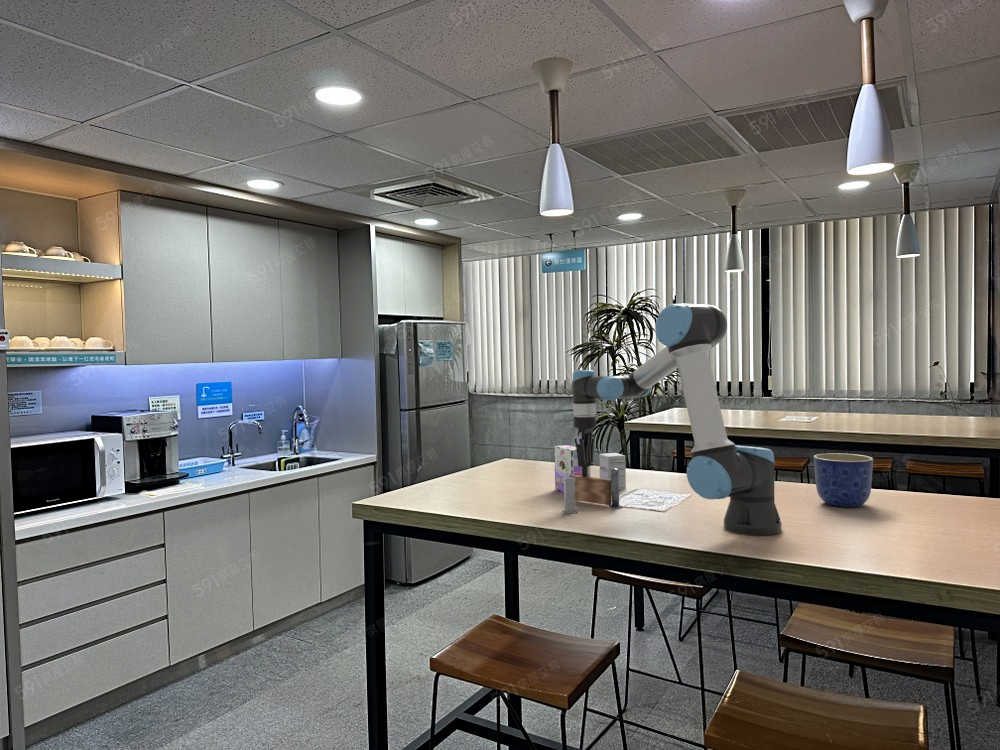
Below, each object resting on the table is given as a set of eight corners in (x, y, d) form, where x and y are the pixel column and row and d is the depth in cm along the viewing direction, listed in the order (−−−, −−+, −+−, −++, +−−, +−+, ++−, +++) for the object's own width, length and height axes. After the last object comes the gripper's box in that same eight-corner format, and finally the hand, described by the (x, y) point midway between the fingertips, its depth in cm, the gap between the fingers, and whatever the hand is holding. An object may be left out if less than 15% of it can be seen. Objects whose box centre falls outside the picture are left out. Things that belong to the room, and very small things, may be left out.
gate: (612, 504, 221) (611, 479, 221) (609, 505, 220) (609, 480, 220) (572, 498, 231) (572, 474, 231) (570, 499, 230) (569, 475, 230)
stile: (578, 513, 212) (577, 478, 212) (564, 513, 212) (564, 479, 211) (575, 510, 216) (574, 476, 215) (561, 511, 215) (561, 477, 215)
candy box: (586, 495, 239) (585, 448, 239) (571, 496, 237) (571, 449, 237) (568, 488, 252) (567, 444, 252) (554, 489, 250) (553, 445, 250)
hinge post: (622, 508, 218) (622, 469, 217) (611, 508, 217) (611, 469, 217) (619, 505, 221) (618, 467, 221) (608, 506, 221) (607, 467, 220)
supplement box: (599, 487, 253) (598, 453, 252) (617, 485, 255) (616, 452, 255) (608, 490, 246) (607, 456, 245) (626, 489, 248) (626, 455, 248)
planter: (859, 513, 204) (859, 463, 204) (804, 504, 218) (803, 457, 217) (882, 504, 215) (882, 456, 215) (828, 496, 228) (828, 451, 228)
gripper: (581, 413, 235) (583, 481, 236) (566, 417, 224) (568, 488, 225) (602, 414, 231) (603, 482, 232) (587, 417, 220) (589, 490, 221)
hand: (586, 485), depth 228 cm, fingers closed
